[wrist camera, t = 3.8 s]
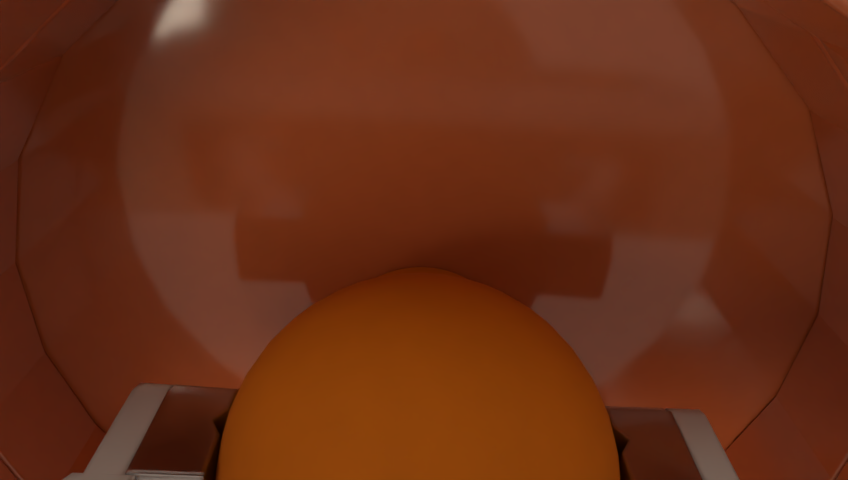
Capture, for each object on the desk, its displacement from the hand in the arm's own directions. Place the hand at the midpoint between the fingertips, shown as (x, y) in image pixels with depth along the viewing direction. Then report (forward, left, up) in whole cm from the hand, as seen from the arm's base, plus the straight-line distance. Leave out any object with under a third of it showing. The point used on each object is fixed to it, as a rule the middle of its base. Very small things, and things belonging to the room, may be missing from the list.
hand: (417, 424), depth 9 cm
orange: (0, 0, -2) cm, 2 cm away
